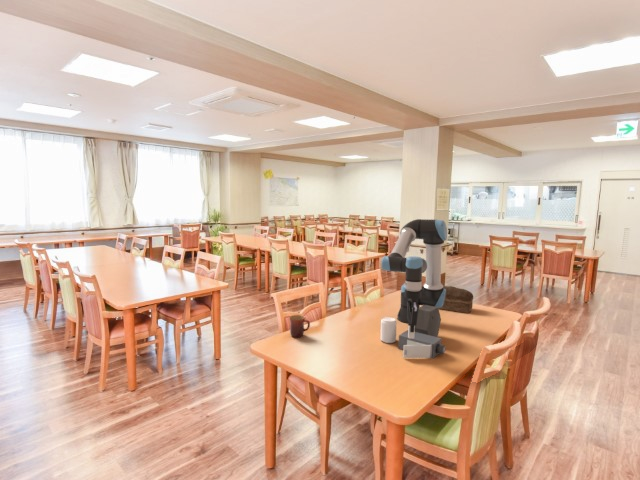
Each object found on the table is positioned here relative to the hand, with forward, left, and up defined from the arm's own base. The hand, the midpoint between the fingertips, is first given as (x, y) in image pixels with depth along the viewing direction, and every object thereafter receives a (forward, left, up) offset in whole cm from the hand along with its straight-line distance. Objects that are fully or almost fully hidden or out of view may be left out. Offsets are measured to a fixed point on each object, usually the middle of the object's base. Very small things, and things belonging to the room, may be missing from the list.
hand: (411, 337), depth 171 cm
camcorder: (+2, +10, -9) cm, 13 cm away
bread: (-13, +92, -10) cm, 94 cm away
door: (+4, -1, -9) cm, 10 cm away
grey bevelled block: (-3, +27, -10) cm, 28 cm away
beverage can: (-18, +11, -10) cm, 23 cm away
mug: (-59, -14, -10) cm, 61 cm away
